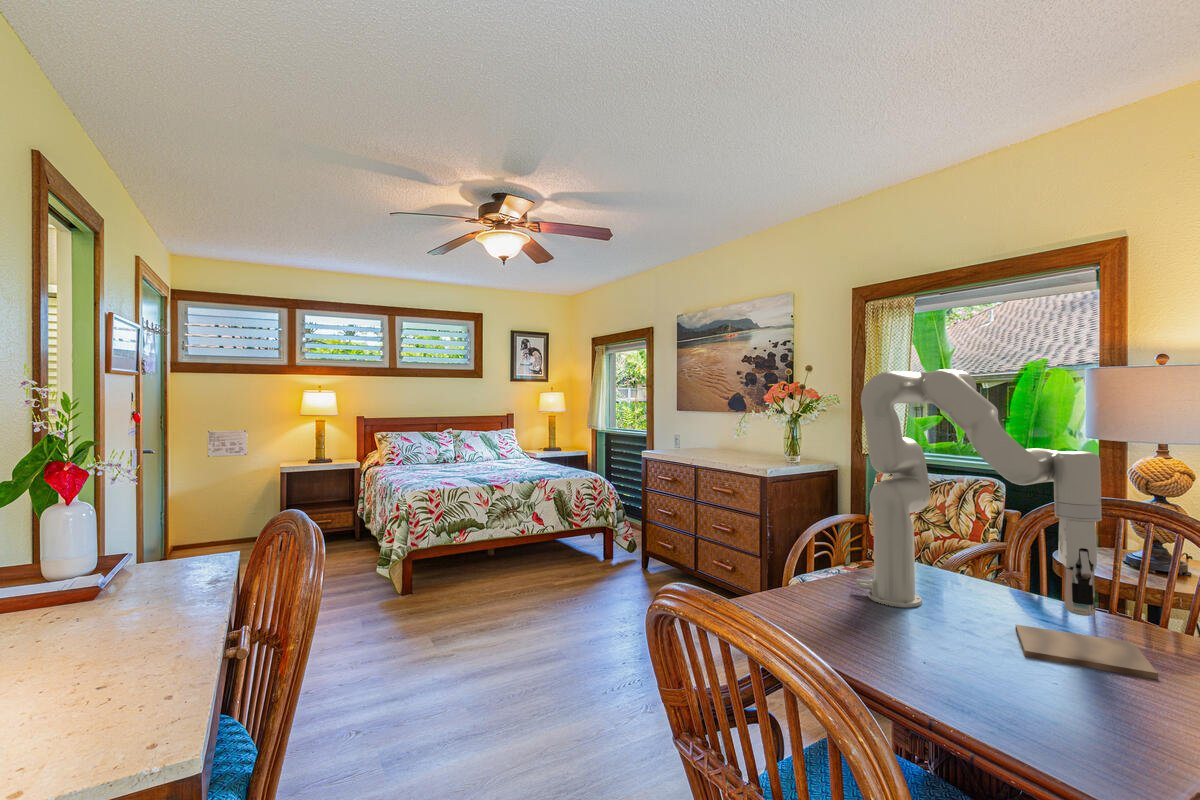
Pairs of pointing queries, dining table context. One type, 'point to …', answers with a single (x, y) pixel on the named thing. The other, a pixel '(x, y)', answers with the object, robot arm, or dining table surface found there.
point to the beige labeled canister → (1069, 604)
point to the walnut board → (1084, 651)
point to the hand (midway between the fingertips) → (1079, 598)
